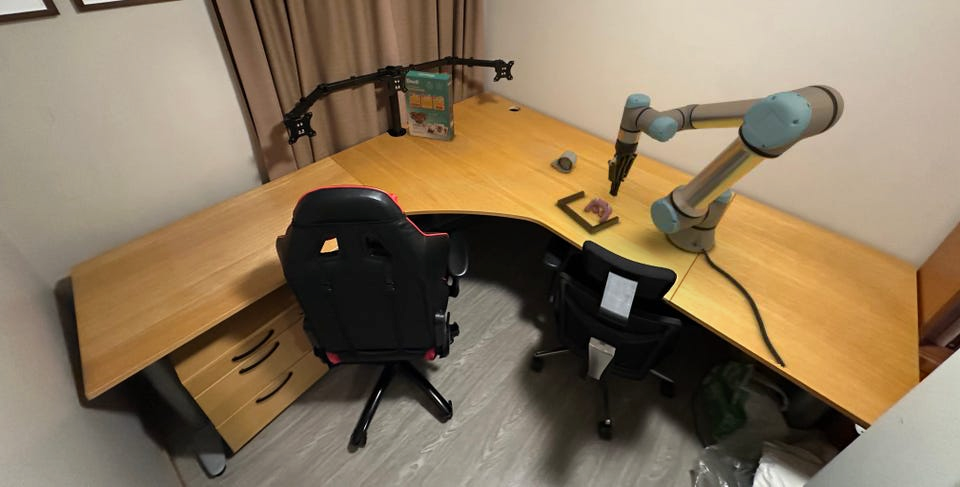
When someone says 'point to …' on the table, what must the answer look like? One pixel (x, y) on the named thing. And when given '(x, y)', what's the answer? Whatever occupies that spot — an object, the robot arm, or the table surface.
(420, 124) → the cake mix box
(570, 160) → the ceramic mug
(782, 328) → the table surface
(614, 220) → the holder
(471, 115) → the table surface
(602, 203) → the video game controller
